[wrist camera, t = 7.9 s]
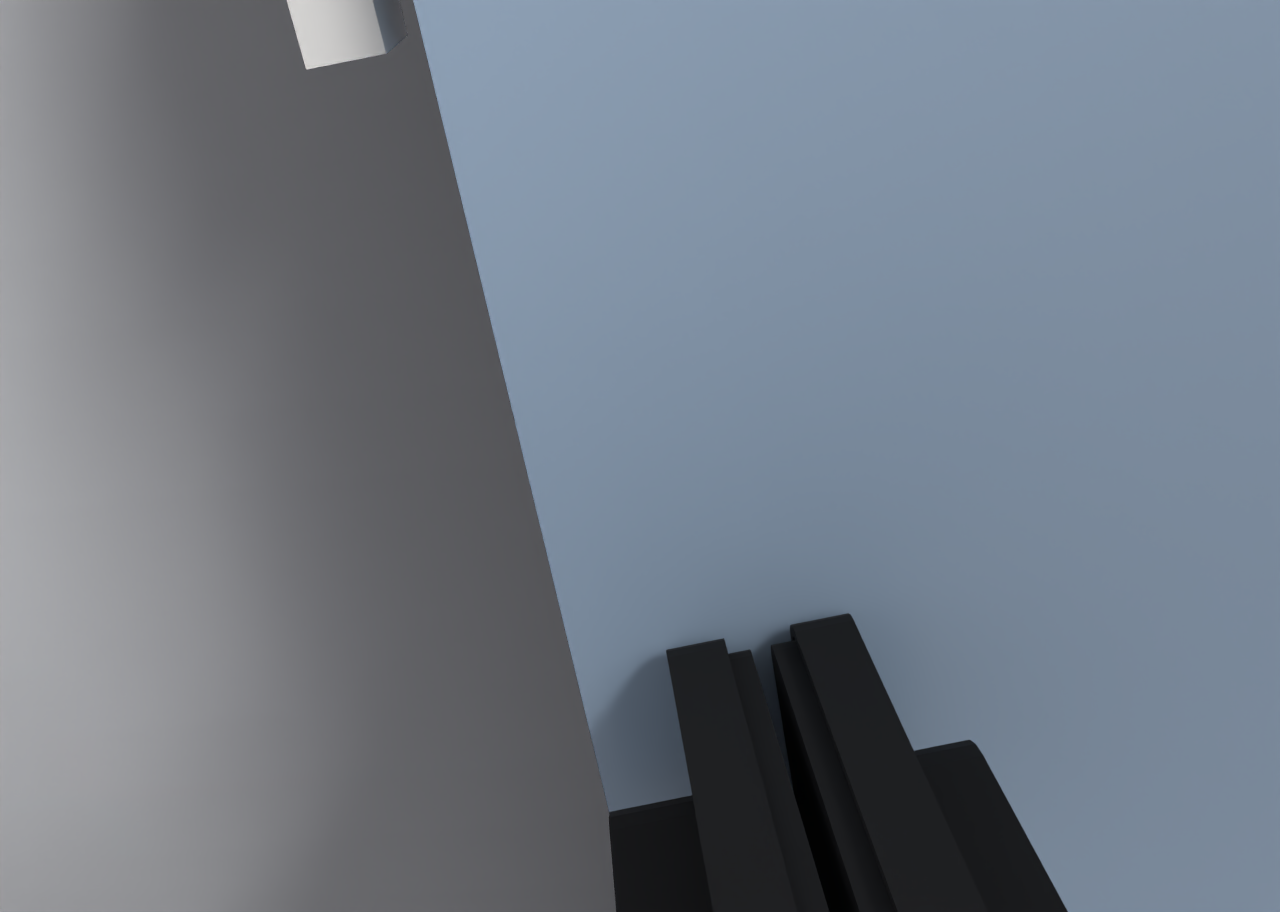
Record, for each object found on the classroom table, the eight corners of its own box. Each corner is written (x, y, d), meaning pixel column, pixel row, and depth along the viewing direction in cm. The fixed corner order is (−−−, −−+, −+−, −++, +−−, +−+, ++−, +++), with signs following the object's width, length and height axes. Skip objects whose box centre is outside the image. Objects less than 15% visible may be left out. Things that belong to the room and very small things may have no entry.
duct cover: (55, -1003, 8) (-115, -1330, 6) (1900, -1373, 8) (2382, -1831, 6) (697, 1379, 18) (717, 1558, 16) (1474, 1229, 18) (1589, 1391, 16)
